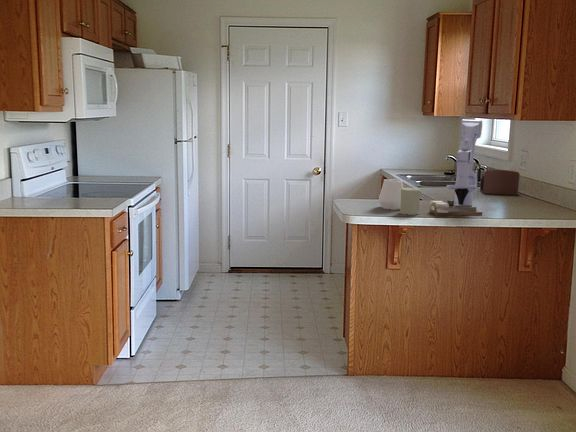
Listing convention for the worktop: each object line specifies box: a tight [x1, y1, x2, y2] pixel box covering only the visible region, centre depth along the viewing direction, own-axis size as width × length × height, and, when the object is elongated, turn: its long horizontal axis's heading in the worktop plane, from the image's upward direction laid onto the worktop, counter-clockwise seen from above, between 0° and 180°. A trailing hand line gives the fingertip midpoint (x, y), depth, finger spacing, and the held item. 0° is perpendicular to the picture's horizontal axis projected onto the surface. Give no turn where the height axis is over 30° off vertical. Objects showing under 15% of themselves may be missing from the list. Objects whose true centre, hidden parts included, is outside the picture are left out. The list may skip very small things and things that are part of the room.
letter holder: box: [479, 169, 520, 196], centre depth 376 cm, size 10×20×14 cm, turn 82°
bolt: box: [432, 199, 455, 211], centre depth 306 cm, size 3×10×4 cm, turn 100°
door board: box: [429, 200, 483, 217], centre depth 307 cm, size 10×22×6 cm, turn 100°
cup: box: [378, 178, 404, 211], centre depth 318 cm, size 13×13×14 cm
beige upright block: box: [399, 187, 421, 216], centre depth 305 cm, size 9×9×12 cm
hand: (460, 204), depth 307 cm, fingers closed
